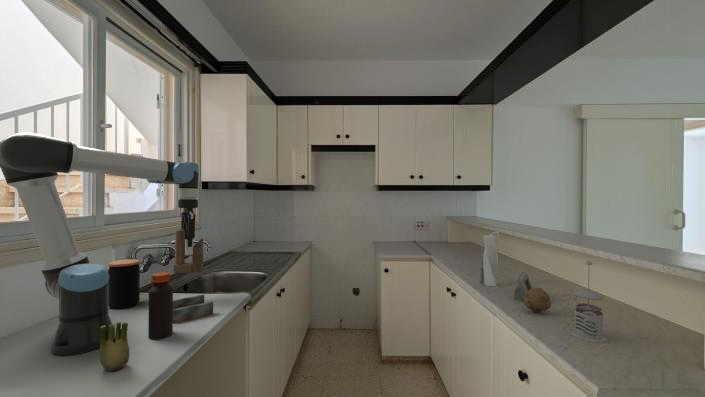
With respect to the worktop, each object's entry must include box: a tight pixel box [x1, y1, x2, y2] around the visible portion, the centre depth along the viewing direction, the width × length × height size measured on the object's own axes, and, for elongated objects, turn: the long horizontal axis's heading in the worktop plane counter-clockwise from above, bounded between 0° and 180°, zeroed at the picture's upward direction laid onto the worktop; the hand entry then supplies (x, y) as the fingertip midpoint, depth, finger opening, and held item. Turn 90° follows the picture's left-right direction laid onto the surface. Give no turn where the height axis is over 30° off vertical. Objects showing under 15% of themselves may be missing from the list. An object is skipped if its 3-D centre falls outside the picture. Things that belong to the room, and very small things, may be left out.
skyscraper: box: [479, 231, 500, 288], centre depth 168 cm, size 8×8×28 cm
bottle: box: [147, 271, 174, 340], centre depth 105 cm, size 7×7×20 cm
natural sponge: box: [523, 287, 552, 314], centre depth 128 cm, size 9×9×10 cm
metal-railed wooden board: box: [173, 294, 214, 324], centre depth 124 cm, size 14×13×4 cm
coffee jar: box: [107, 258, 141, 310], centre depth 133 cm, size 11×11×18 cm
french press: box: [564, 260, 608, 344], centre depth 108 cm, size 10×12×25 cm
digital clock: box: [513, 271, 534, 302], centre depth 147 cm, size 16×9×11 cm, turn 133°
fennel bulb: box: [99, 321, 130, 372], centre depth 85 cm, size 6×5×12 cm
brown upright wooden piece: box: [173, 229, 204, 274], centre depth 137 cm, size 4×11×18 cm, turn 102°
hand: (187, 253), depth 136 cm, fingers closed on brown upright wooden piece, 5 cm apart
